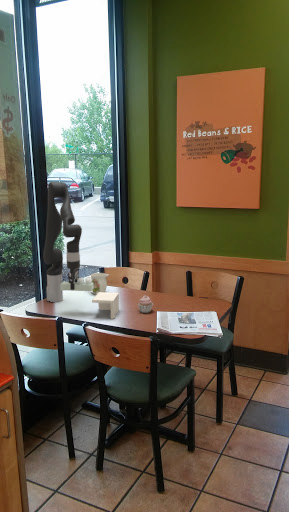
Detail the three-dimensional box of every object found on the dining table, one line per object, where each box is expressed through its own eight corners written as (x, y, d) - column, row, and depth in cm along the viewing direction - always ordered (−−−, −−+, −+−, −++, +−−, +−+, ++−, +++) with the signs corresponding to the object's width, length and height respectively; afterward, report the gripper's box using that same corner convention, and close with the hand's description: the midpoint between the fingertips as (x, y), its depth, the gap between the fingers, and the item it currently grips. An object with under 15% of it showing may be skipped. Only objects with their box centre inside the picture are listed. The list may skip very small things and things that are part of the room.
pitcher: (90, 290, 289) (89, 270, 286) (113, 292, 282) (112, 273, 279) (81, 294, 279) (81, 274, 276) (105, 297, 272) (105, 276, 269)
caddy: (60, 290, 236) (60, 279, 235) (63, 287, 242) (63, 276, 241) (91, 291, 234) (90, 280, 233) (93, 288, 240) (93, 277, 239)
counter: (92, 317, 232) (92, 299, 230) (99, 309, 247) (98, 292, 245) (113, 318, 230) (113, 300, 228) (118, 309, 246) (118, 292, 244)
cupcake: (142, 315, 236) (142, 298, 235) (134, 310, 244) (134, 294, 243) (156, 312, 241) (156, 296, 239) (148, 308, 249) (148, 292, 247)
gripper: (70, 257, 243) (71, 284, 246) (62, 262, 229) (64, 291, 232) (83, 257, 242) (83, 285, 245) (76, 262, 228) (77, 291, 231)
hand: (74, 288), depth 238 cm, fingers closed on caddy, 6 cm apart
